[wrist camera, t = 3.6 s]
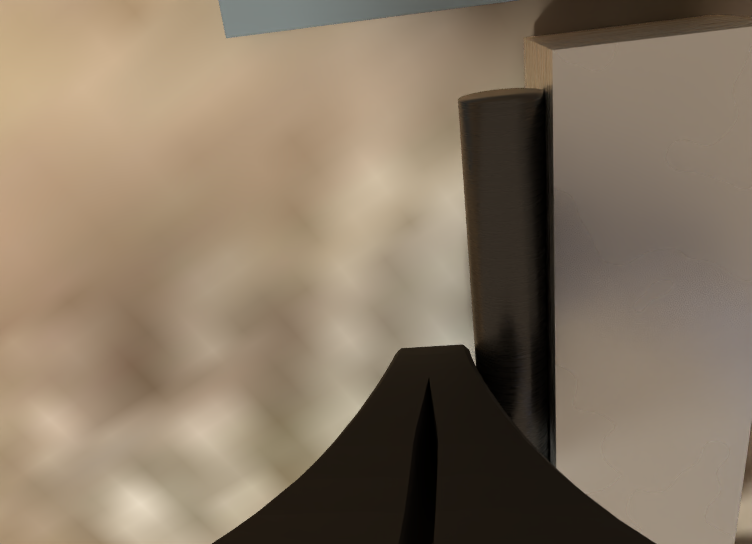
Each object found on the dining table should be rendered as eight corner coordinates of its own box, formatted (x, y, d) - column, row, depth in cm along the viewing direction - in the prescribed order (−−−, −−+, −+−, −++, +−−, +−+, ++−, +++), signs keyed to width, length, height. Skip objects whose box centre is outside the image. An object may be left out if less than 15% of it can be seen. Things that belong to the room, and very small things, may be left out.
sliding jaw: (713, 14, 10) (806, 19, 7) (668, 546, 15) (718, 663, 12) (451, 46, 11) (457, 61, 8) (486, 550, 15) (496, 662, 13)
